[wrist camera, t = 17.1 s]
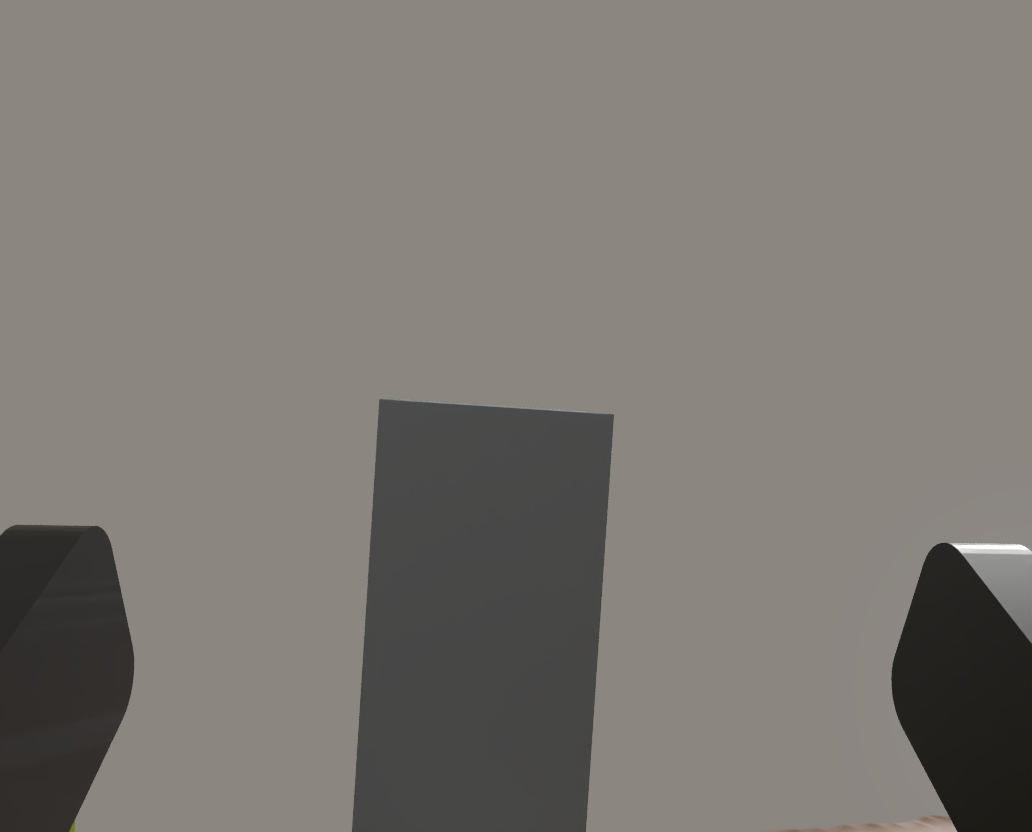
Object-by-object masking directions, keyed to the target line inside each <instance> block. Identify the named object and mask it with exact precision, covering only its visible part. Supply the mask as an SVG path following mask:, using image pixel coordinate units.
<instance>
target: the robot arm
mask: <svg viewBox="0 0 1032 832" xmlns="http://www.w3.org/2000/svg"><path fill="white" fill-rule="evenodd" d="M133 675H134V653H133V646H132V641H131V637H130V632H129V627H128V623H127V618H126V613H125V608H124V604H123V599H122V594H121V589H120V585H119V580H118V575H117V570H116V565H115V561H114V556H113V551H112V547H111V543H110V540H109V538H108V536H107V534H106V532H105V531H104V530H103V529H102V528H100V527H98V526H51V525H14V526H12V527H10V528H8V529H7V530H5V531H4V532H3V533H2V535H1V536H0V832H69V831H70V829H71V827H72V824H73V822H74V820H75V818H76V816H77V814H78V812H79V809H80V808H81V805H82V803H83V801H84V799H85V797H86V795H87V793H88V791H89V789H90V786H91V784H92V782H93V780H94V778H95V776H96V774H97V772H98V770H99V768H100V765H101V763H102V761H103V759H104V757H105V755H106V753H107V751H108V749H109V747H110V744H111V742H112V740H113V738H114V736H115V734H116V732H117V730H118V728H119V726H120V723H121V721H122V719H123V717H124V714H125V712H126V709H127V706H128V703H129V699H130V695H131V690H132V684H133ZM892 694H893V700H894V705H895V709H896V712H897V716H898V719H899V721H900V723H901V726H902V728H903V730H904V731H905V733H906V735H907V737H908V739H909V741H910V743H911V745H912V747H913V749H914V750H915V752H916V754H917V756H918V758H919V760H920V762H921V764H922V766H923V767H924V769H925V771H926V773H927V775H928V777H929V779H930V781H931V782H932V784H933V786H934V788H935V790H936V792H937V794H938V796H939V798H940V800H941V801H942V803H943V805H944V807H945V809H946V811H947V813H948V815H949V817H950V818H951V820H952V822H953V824H954V826H955V828H956V830H957V832H1032V552H1031V551H1030V550H1029V549H1028V548H1026V547H1024V546H1022V545H1019V544H980V543H978V544H977V543H940V544H937V545H936V546H934V547H933V548H932V549H931V550H930V552H929V553H928V555H927V557H926V559H925V562H924V565H923V567H922V571H921V574H920V577H919V580H918V583H917V587H916V590H915V593H914V596H913V599H912V603H911V606H910V609H909V612H908V615H907V619H906V622H905V625H904V628H903V631H902V635H901V638H900V641H899V644H898V647H897V651H896V654H895V657H894V661H893V667H892Z"/></svg>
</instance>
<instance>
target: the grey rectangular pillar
mask: <svg viewBox="0 0 1032 832" xmlns="http://www.w3.org/2000/svg"><path fill="white" fill-rule="evenodd" d="M613 418H614V415H613V414H603V413H593V412H582V411H570V410H553V409H539V408H524V407H508V406H493V405H478V404H463V403H448V402H432V401H416V400H401V399H380V401H379V416H378V431H377V448H376V463H375V479H374V494H373V496H374V497H373V512H372V527H371V542H370V558H369V573H368V590H367V605H366V620H365V636H364V652H363V668H362V683H361V699H360V716H359V732H358V746H357V762H356V778H355V795H354V809H353V827H352V832H586V819H587V804H588V790H589V775H590V760H591V746H592V731H593V716H594V700H595V686H596V672H597V656H598V642H599V627H600V612H601V597H602V583H603V567H604V553H605V538H606V524H607V509H608V494H609V478H610V464H611V448H612V434H613V420H614V419H613Z"/></svg>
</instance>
